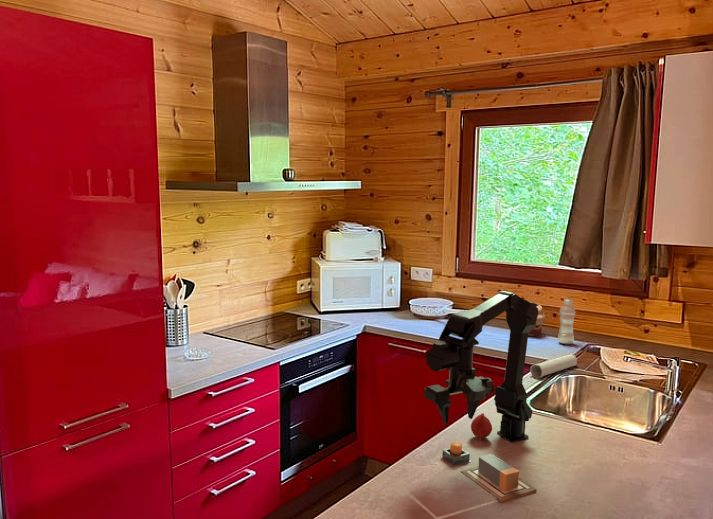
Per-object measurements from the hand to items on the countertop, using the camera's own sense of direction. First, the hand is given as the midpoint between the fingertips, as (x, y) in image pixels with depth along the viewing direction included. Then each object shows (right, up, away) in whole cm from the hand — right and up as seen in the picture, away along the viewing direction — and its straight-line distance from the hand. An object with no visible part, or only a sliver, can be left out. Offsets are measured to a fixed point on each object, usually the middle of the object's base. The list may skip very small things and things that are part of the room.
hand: (458, 421), depth 160 cm
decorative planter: (+53, +7, +128) cm, 139 cm away
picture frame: (+8, -13, -9) cm, 17 cm away
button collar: (0, -10, +2) cm, 11 cm away
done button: (0, -9, +2) cm, 9 cm away
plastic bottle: (+65, +5, +111) cm, 129 cm away
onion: (+9, -9, +15) cm, 19 cm away
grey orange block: (+8, -12, -9) cm, 17 cm away
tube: (+49, -1, +75) cm, 90 cm away
